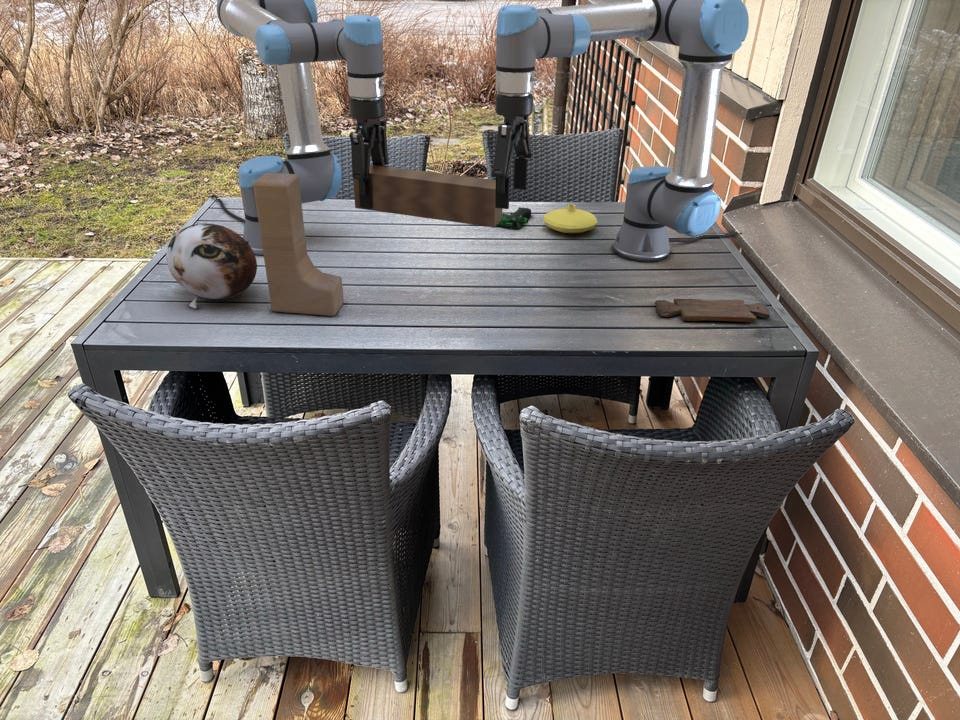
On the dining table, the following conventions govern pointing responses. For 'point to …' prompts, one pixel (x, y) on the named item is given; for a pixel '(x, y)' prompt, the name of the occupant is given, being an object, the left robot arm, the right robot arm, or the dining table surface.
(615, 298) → the dining table surface
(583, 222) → the yellow round domed disc
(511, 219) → the handgun
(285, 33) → the left robot arm
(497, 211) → the bar
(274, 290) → the decorative block
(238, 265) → the cat face balloon
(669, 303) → the wooden paddle board
